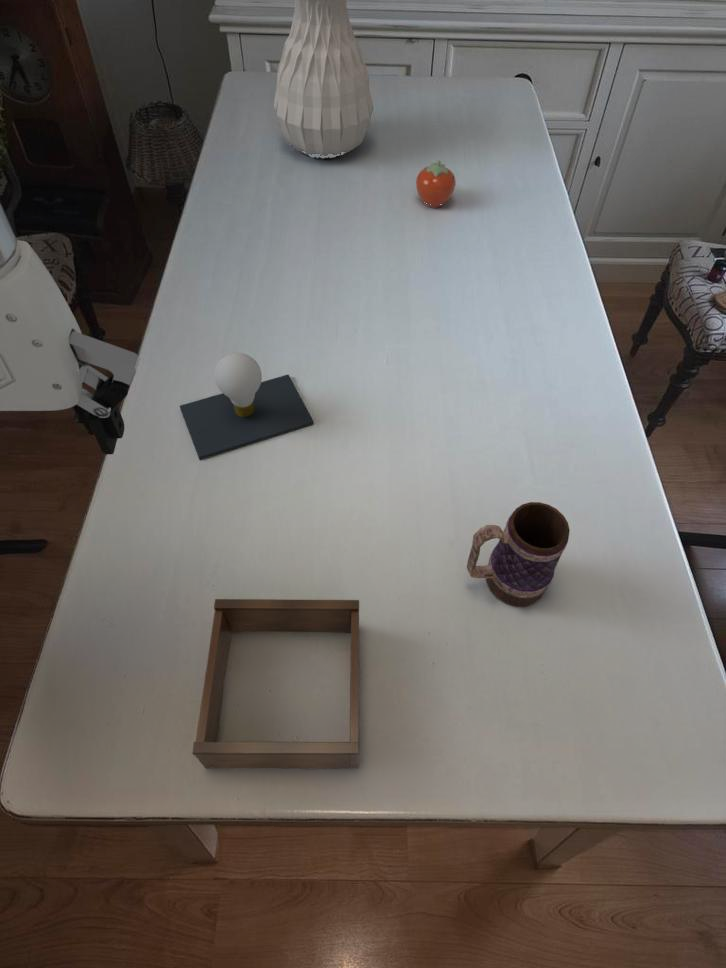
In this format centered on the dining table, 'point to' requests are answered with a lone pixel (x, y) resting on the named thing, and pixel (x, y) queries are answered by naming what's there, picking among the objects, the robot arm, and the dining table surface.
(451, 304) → the dining table surface
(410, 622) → the dining table surface
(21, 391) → the robot arm
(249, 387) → the light bulb
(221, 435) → the mat
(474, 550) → the mug
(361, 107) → the vase
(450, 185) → the tomato
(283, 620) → the brown wooden square frame
